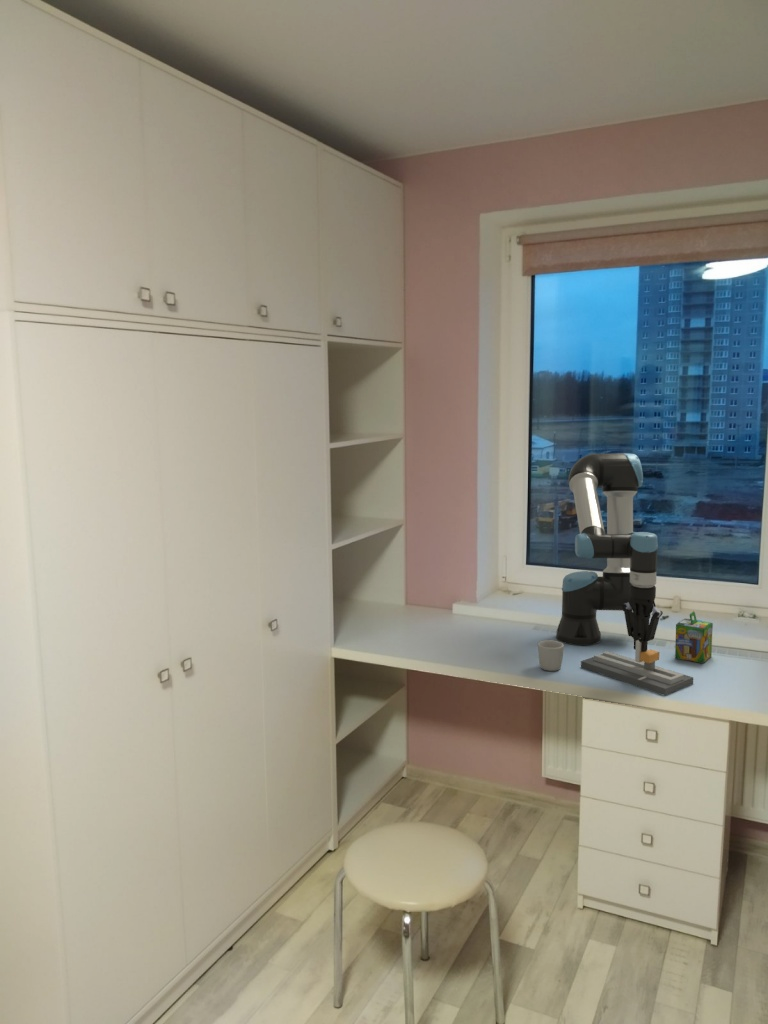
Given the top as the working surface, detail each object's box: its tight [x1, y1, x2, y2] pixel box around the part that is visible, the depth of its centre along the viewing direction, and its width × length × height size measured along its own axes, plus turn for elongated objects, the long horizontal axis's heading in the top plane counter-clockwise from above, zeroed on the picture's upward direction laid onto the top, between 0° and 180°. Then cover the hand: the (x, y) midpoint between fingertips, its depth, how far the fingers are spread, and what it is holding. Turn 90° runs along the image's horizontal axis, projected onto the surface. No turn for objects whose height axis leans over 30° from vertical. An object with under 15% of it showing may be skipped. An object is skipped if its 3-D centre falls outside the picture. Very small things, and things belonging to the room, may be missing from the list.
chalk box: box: [674, 610, 714, 664], centre depth 255 cm, size 9×9×15 cm
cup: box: [537, 639, 565, 672], centre depth 249 cm, size 11×8×8 cm
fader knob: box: [640, 649, 660, 672], centre depth 236 cm, size 3×5×6 cm, turn 127°
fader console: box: [580, 651, 694, 696], centre depth 241 cm, size 30×14×4 cm, turn 37°
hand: (639, 660), depth 239 cm, fingers closed
